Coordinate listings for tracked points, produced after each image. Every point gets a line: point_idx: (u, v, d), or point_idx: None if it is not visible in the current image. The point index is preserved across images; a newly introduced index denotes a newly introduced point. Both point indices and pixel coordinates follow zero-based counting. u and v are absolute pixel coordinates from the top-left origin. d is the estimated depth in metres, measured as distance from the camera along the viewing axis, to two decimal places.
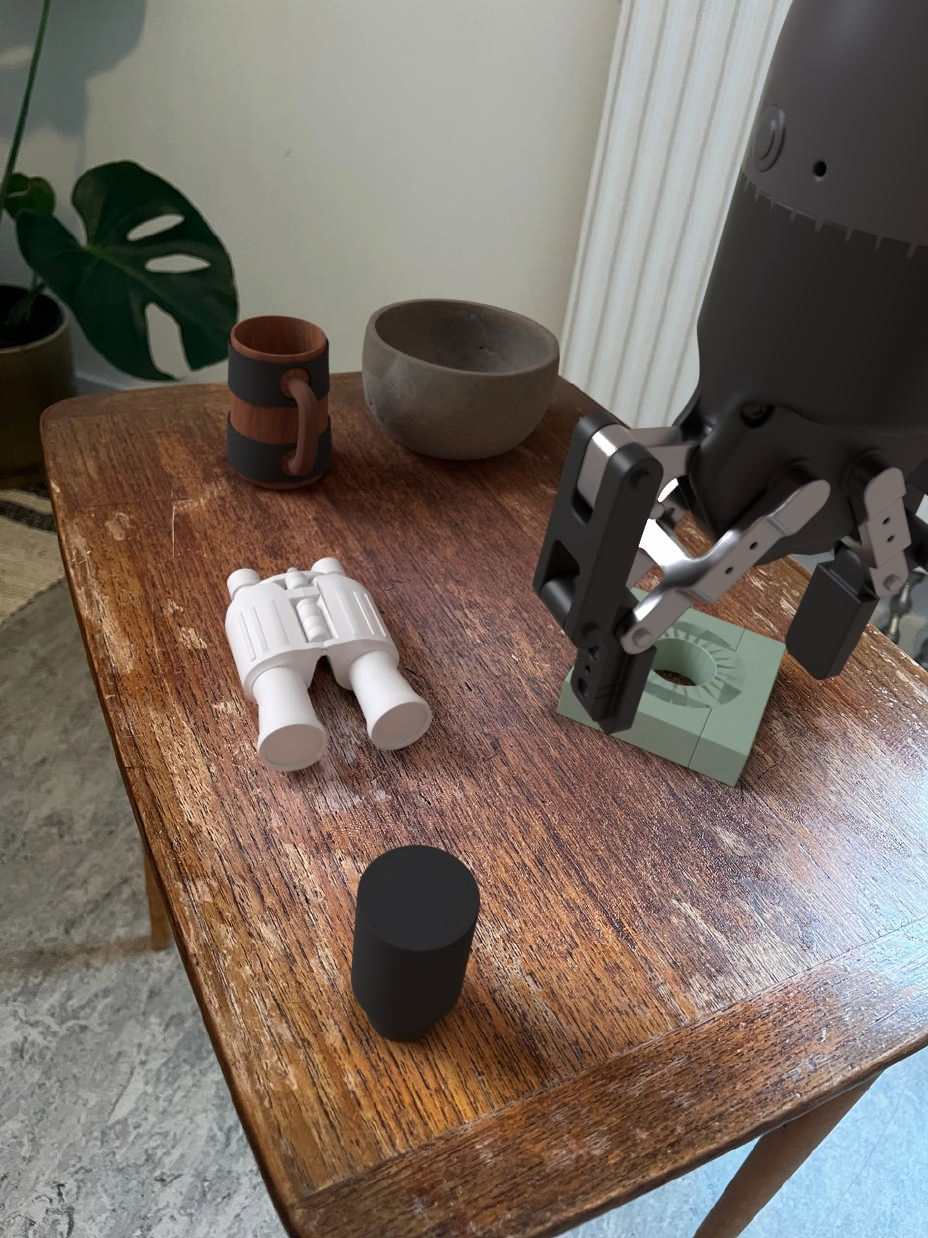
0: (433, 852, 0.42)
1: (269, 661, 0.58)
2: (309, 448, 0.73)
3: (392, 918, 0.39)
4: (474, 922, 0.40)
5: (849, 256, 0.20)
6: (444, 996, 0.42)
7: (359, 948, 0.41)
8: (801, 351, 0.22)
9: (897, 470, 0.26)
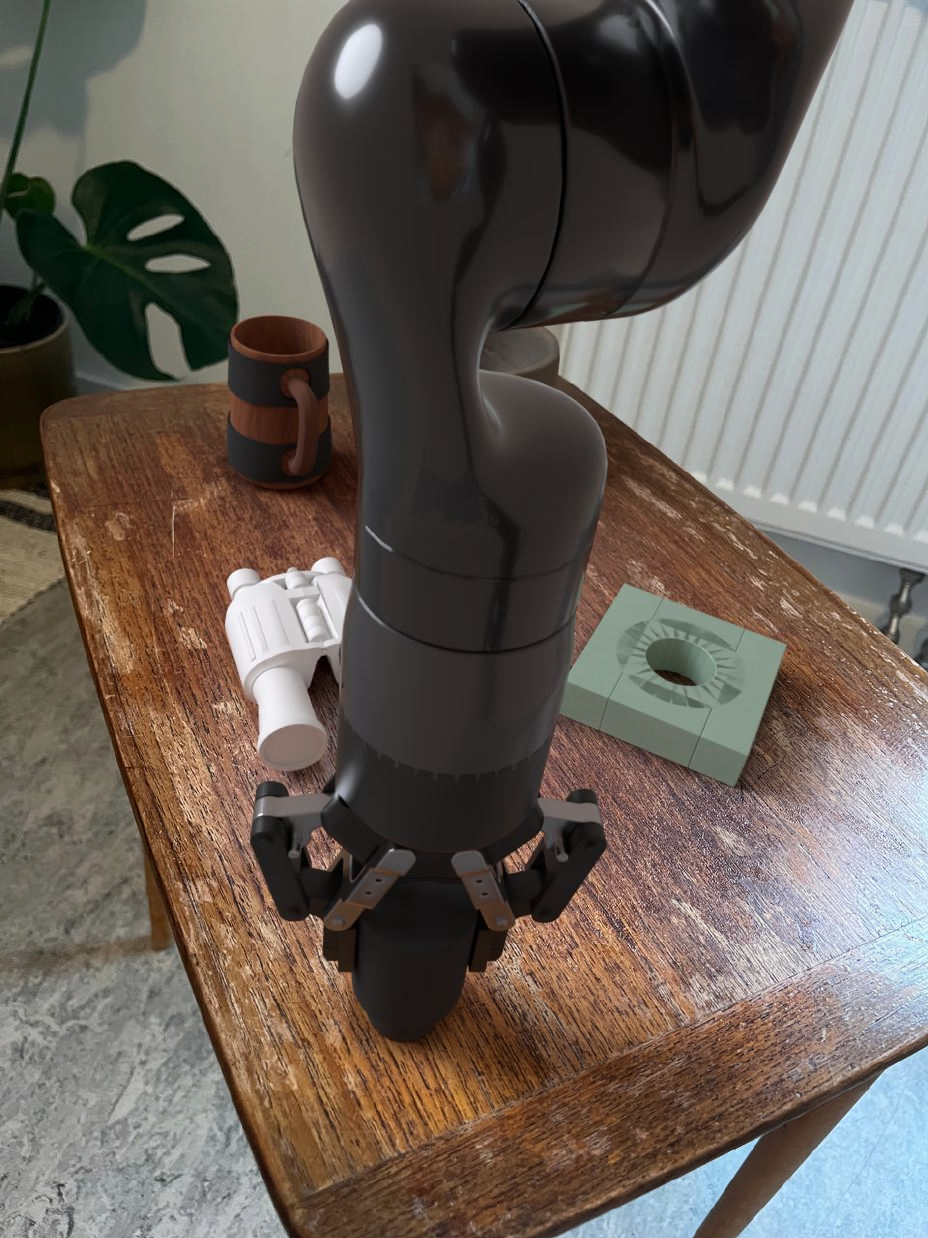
0: None
1: (269, 661, 0.58)
2: (309, 448, 0.73)
3: (392, 918, 0.39)
4: (474, 922, 0.40)
5: (355, 742, 0.31)
6: (445, 996, 0.42)
7: (359, 948, 0.41)
8: (349, 781, 0.33)
9: (477, 854, 0.36)
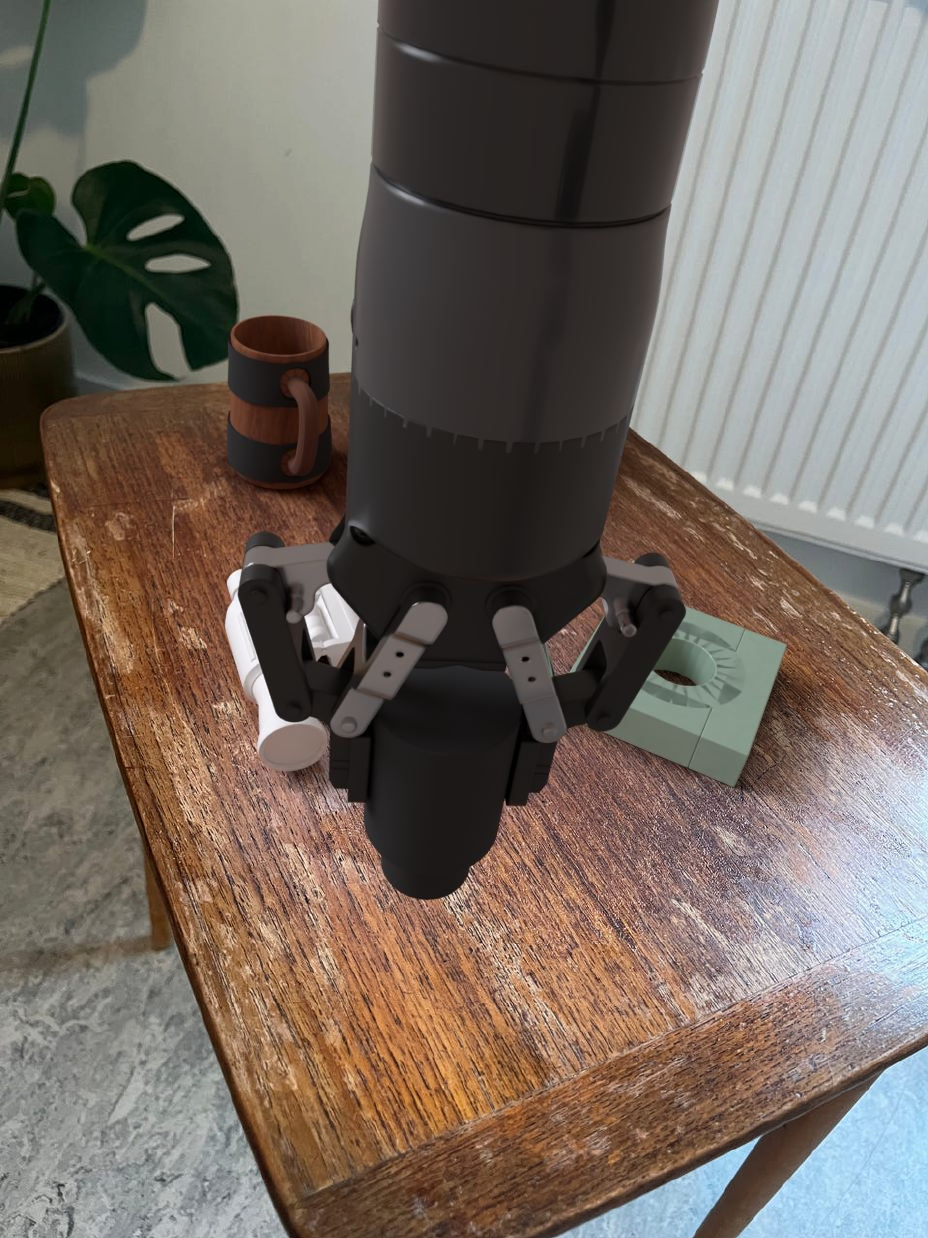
0: None
1: None
2: (309, 448, 0.73)
3: (416, 721, 0.32)
4: (516, 728, 0.32)
5: (373, 418, 0.24)
6: (478, 830, 0.34)
7: (374, 766, 0.33)
8: (364, 489, 0.25)
9: (526, 611, 0.28)
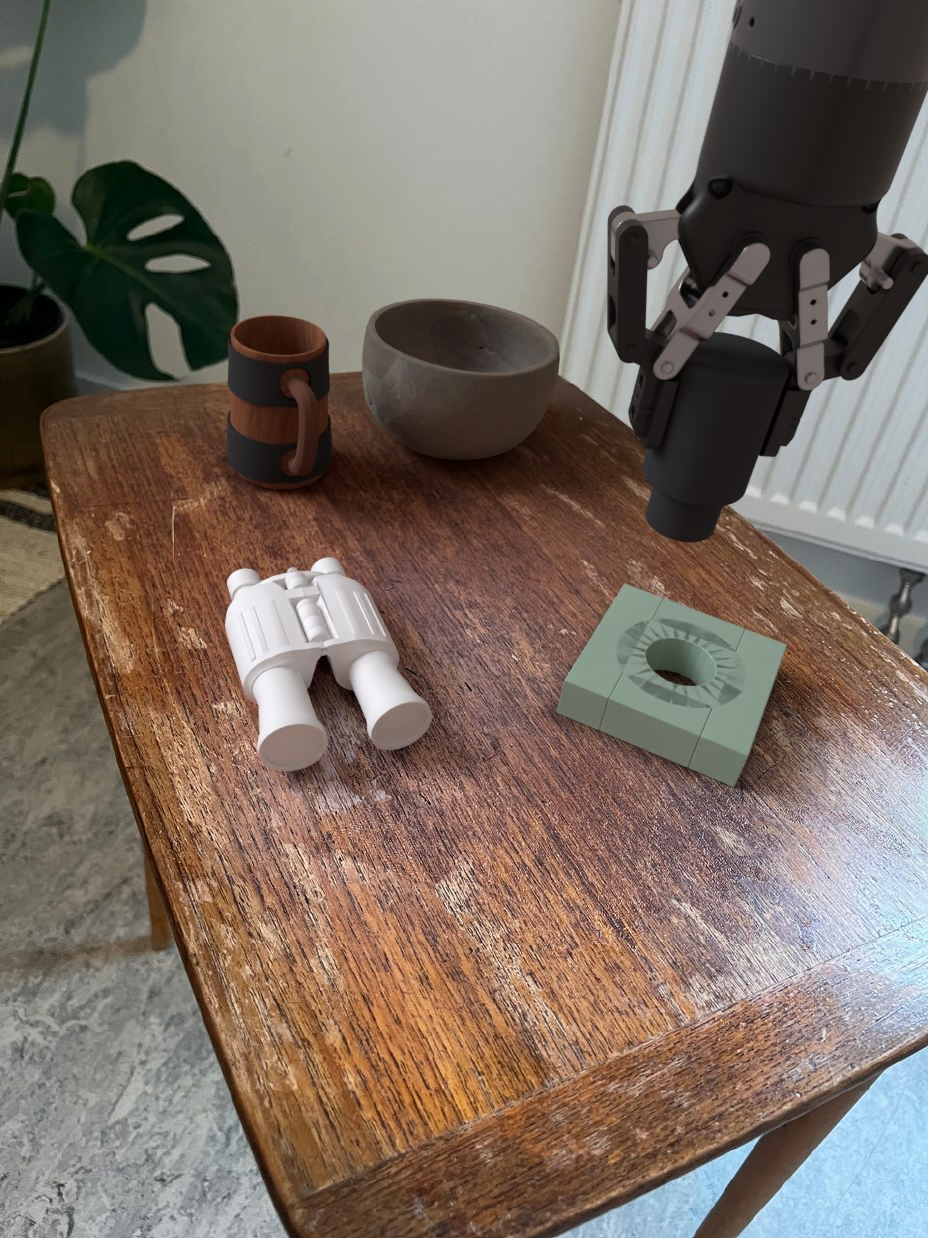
0: (733, 336, 0.45)
1: (269, 661, 0.58)
2: (309, 448, 0.73)
3: (715, 365, 0.43)
4: (787, 373, 0.43)
5: (762, 75, 0.34)
6: (746, 465, 0.45)
7: (674, 410, 0.44)
8: (738, 139, 0.36)
9: (826, 253, 0.39)
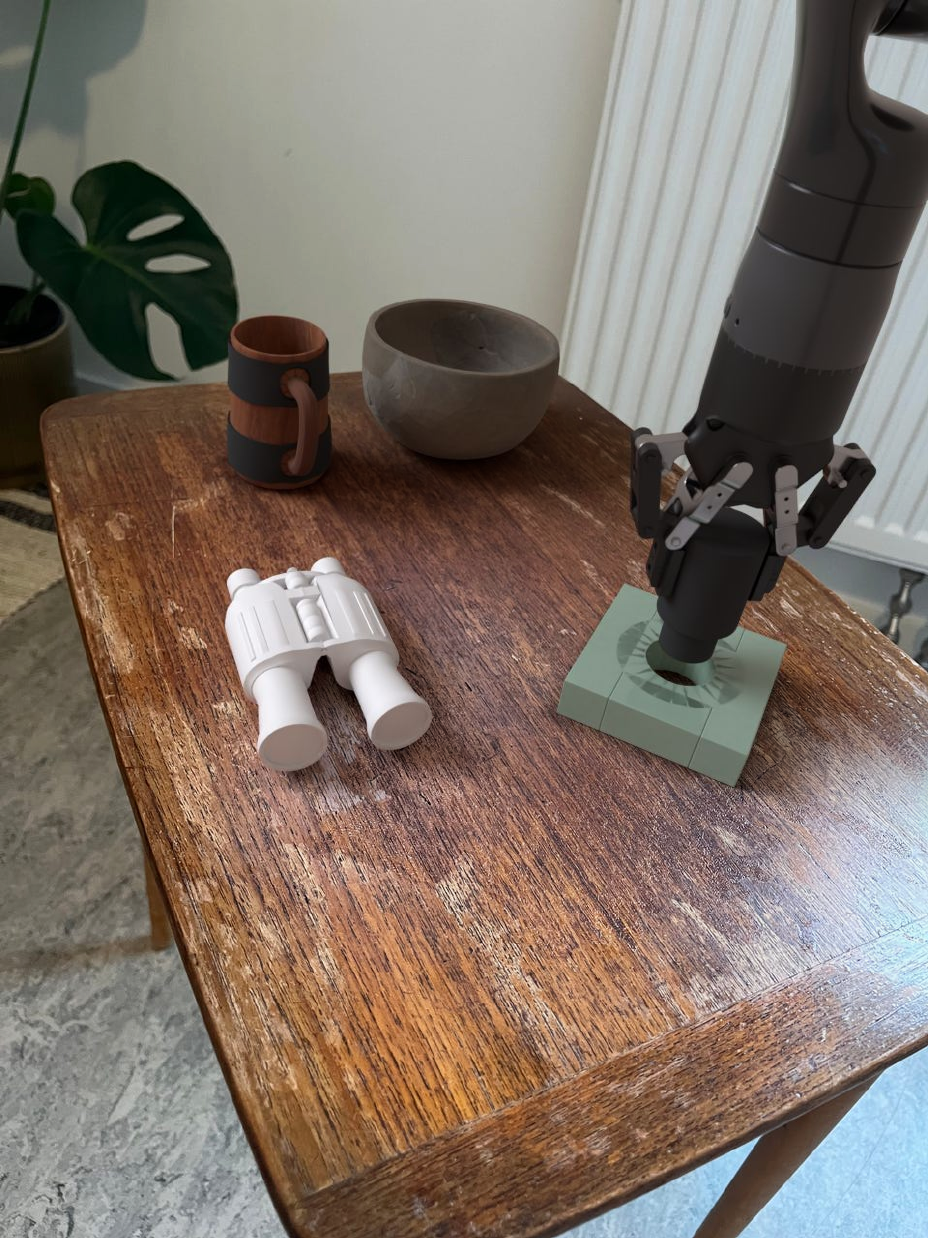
0: (727, 509, 0.59)
1: (269, 661, 0.58)
2: (309, 448, 0.73)
3: (713, 539, 0.56)
4: (768, 544, 0.56)
5: (744, 359, 0.48)
6: (737, 610, 0.58)
7: (681, 570, 0.57)
8: (727, 397, 0.49)
9: (795, 468, 0.52)
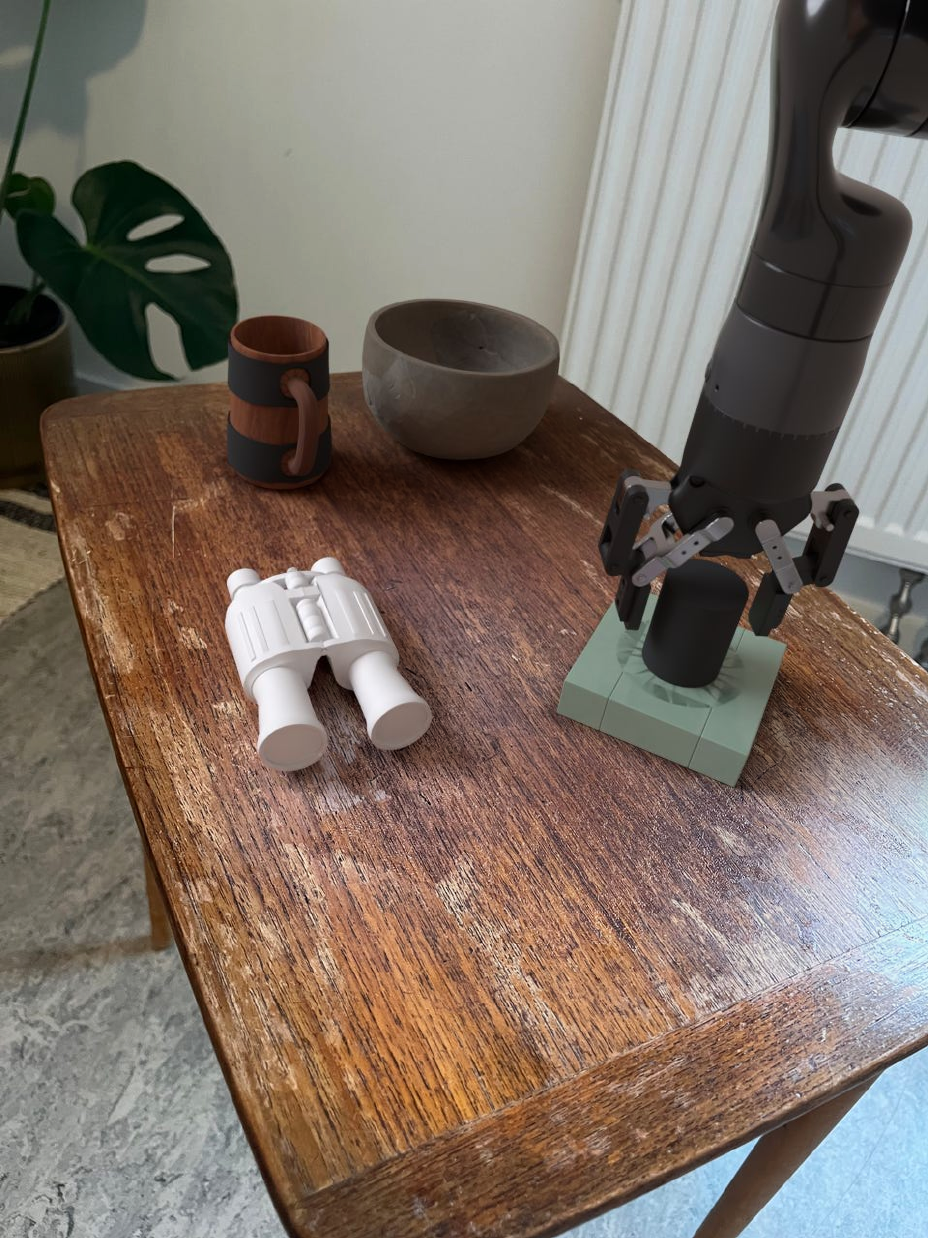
0: (709, 562, 0.61)
1: (269, 661, 0.58)
2: (309, 448, 0.73)
3: (694, 594, 0.58)
4: (747, 598, 0.59)
5: (724, 423, 0.50)
6: (718, 659, 0.61)
7: (664, 621, 0.60)
8: (708, 457, 0.51)
9: (772, 521, 0.54)
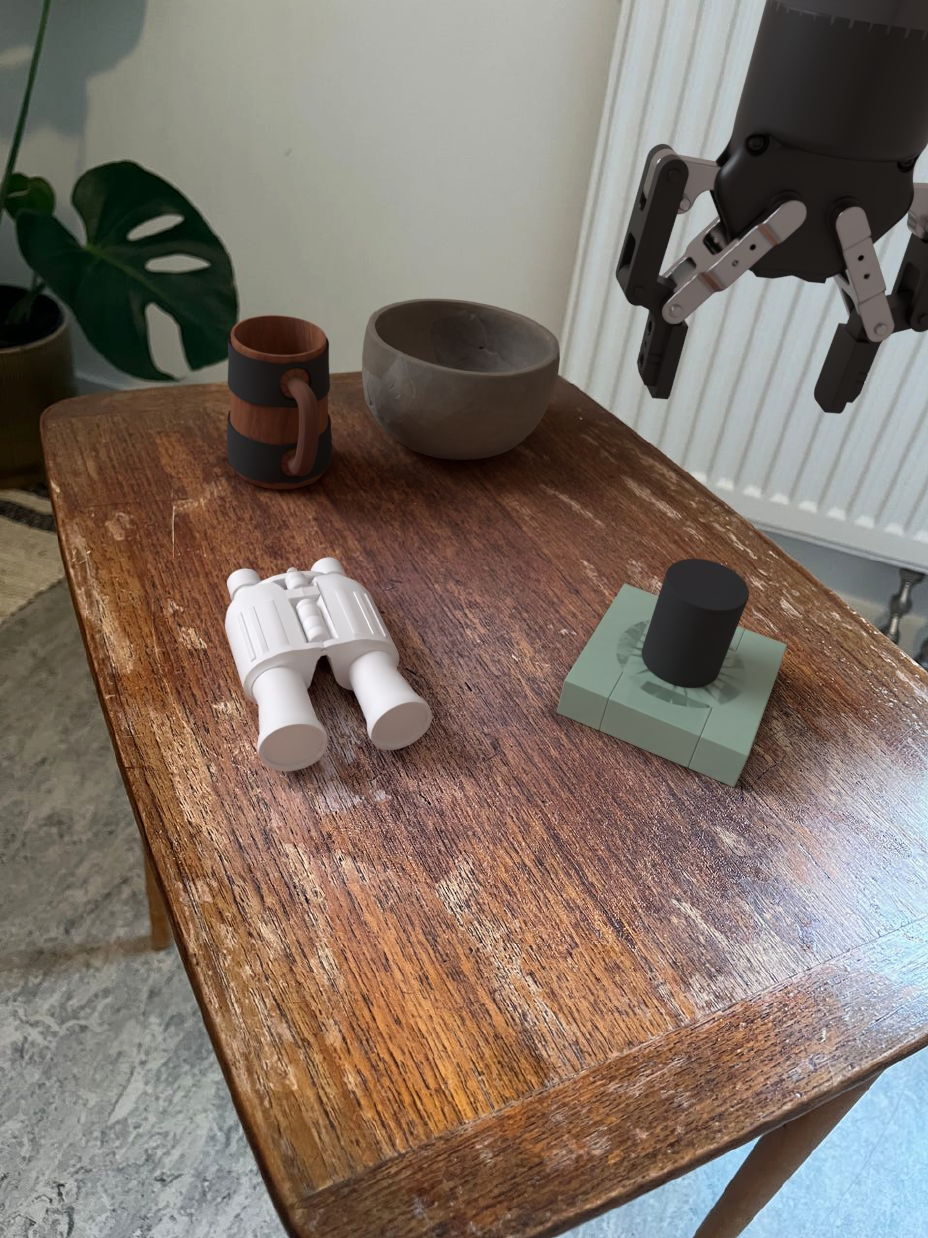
0: (709, 562, 0.61)
1: (269, 661, 0.58)
2: (309, 448, 0.73)
3: (694, 594, 0.58)
4: (747, 598, 0.59)
5: (801, 26, 0.35)
6: (718, 659, 0.61)
7: (664, 621, 0.60)
8: (775, 93, 0.36)
9: (860, 209, 0.39)
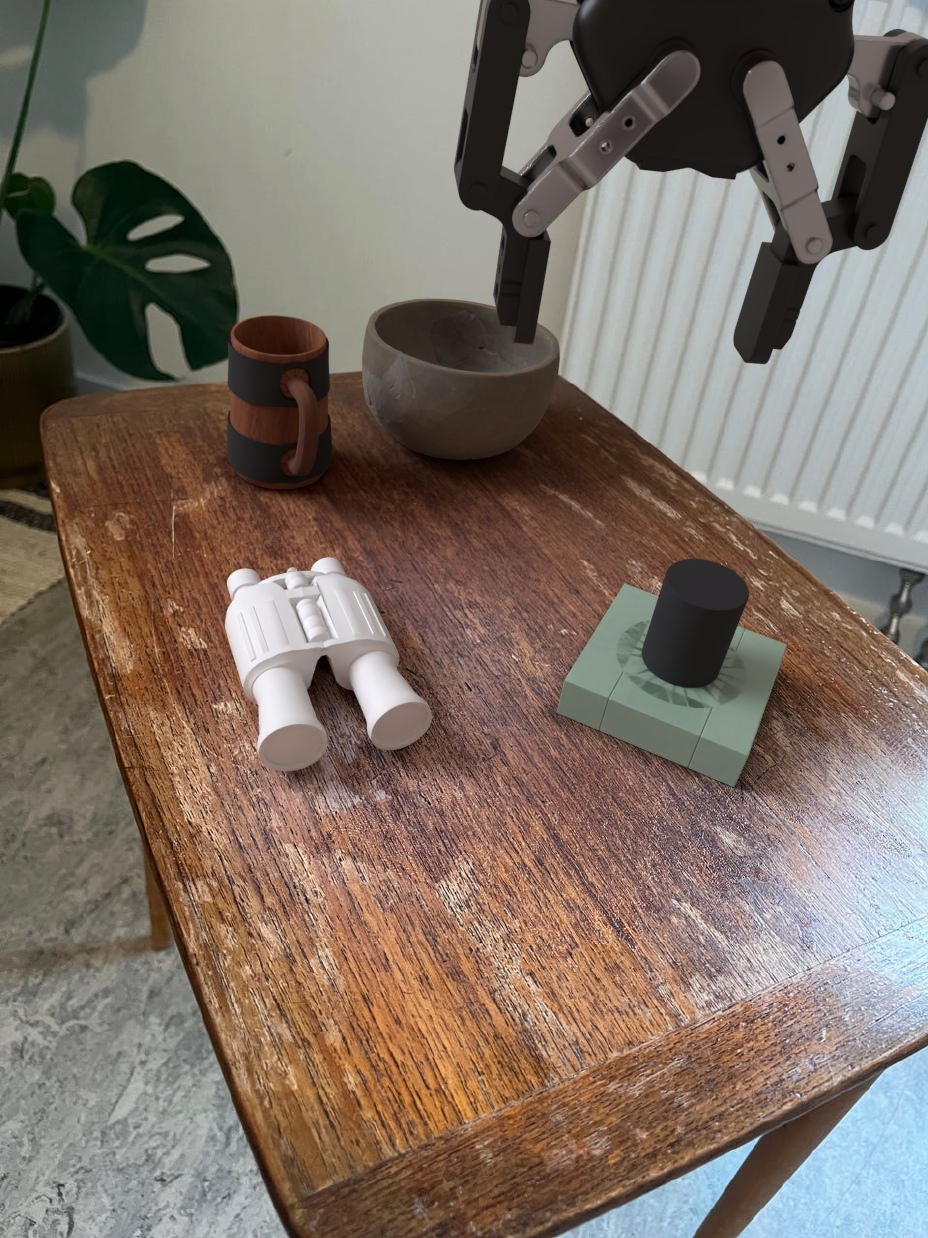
0: (709, 562, 0.61)
1: (269, 661, 0.58)
2: (309, 448, 0.73)
3: (694, 594, 0.58)
4: (747, 598, 0.59)
5: None
6: (718, 659, 0.61)
7: (664, 621, 0.60)
8: None
9: (776, 64, 0.27)
